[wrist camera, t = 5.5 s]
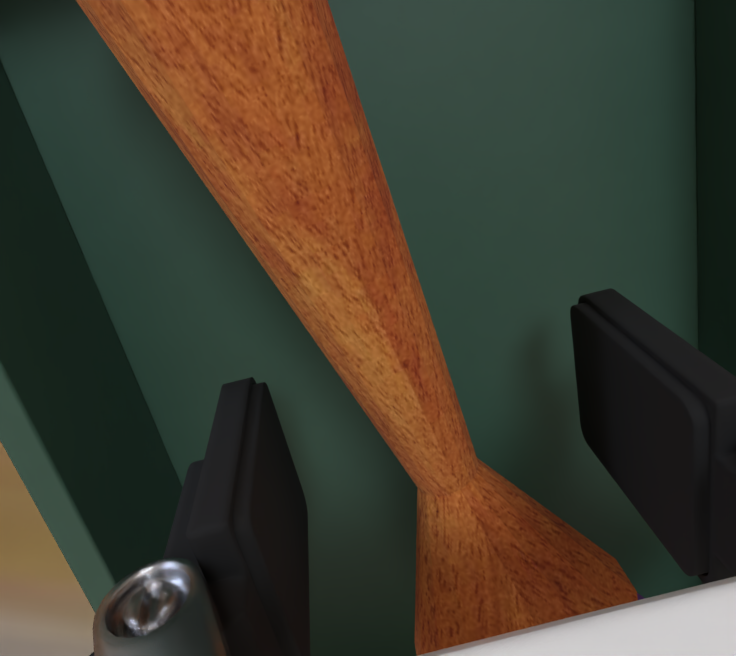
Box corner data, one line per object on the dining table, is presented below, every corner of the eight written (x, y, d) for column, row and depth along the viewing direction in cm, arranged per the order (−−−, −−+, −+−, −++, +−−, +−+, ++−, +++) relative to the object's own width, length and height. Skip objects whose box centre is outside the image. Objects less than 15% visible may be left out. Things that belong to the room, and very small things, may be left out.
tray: (-111, -139, 10) (-405, -289, 6) (710, -344, 10) (995, -642, 6) (270, 727, 19) (259, 912, 15) (712, 622, 19) (826, 778, 15)
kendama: (408, -671, 4) (864, 888, 11) (296, -192, 10) (641, 643, 16) (-453, -355, 4) (581, 1092, 10) (-52, -38, 9) (450, 765, 16)
